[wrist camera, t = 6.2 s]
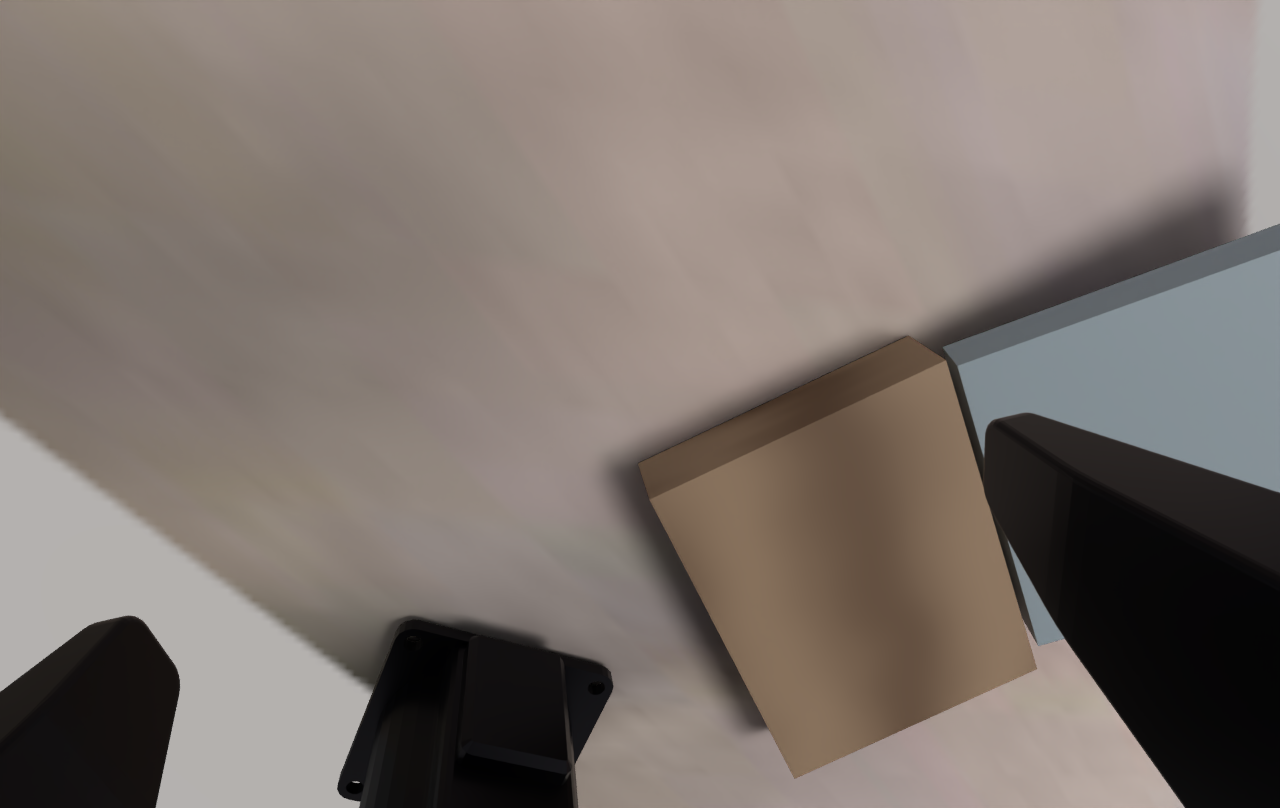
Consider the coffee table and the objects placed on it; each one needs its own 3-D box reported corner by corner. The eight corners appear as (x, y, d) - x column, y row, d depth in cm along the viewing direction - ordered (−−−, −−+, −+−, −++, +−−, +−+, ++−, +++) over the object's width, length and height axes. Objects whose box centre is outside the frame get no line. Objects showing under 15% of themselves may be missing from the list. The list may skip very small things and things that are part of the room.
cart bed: (774, 729, 26) (794, 778, 24) (637, 463, 21) (649, 499, 19) (999, 626, 25) (1037, 668, 24) (908, 335, 21) (946, 360, 19)
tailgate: (1038, 645, 24) (1412, 542, 21) (957, 365, 20) (1408, 204, 17) (1014, 604, 25) (1360, 504, 23) (935, 338, 21) (1345, 186, 19)
